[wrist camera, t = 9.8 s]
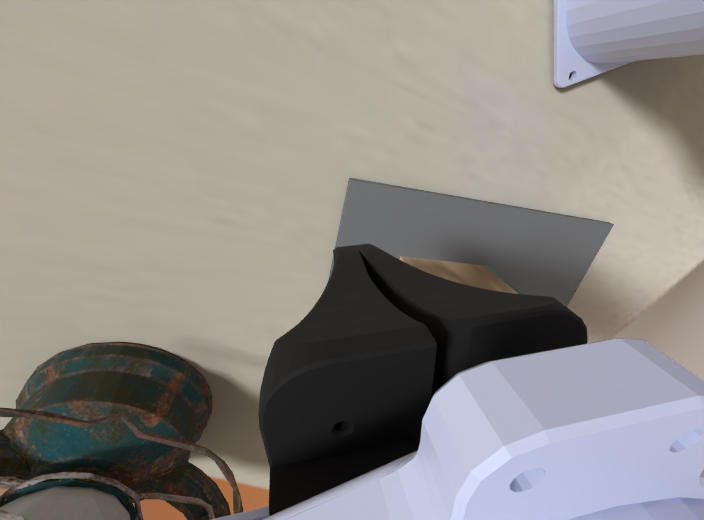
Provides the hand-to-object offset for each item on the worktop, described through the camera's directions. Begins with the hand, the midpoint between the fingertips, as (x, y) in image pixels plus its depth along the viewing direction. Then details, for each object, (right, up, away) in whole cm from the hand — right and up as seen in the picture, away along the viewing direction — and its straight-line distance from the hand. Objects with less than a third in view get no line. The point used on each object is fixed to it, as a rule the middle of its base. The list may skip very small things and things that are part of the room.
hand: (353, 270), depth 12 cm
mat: (+9, -2, +15) cm, 17 cm away
